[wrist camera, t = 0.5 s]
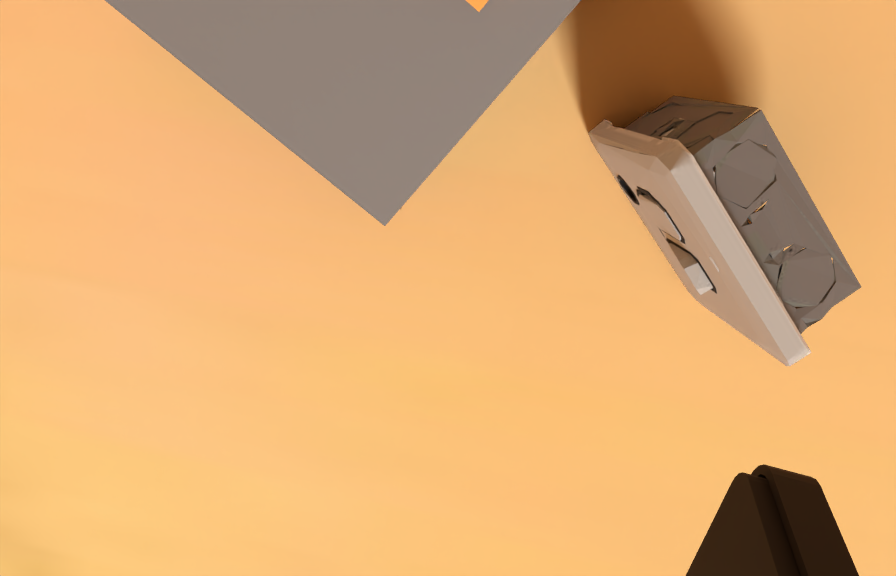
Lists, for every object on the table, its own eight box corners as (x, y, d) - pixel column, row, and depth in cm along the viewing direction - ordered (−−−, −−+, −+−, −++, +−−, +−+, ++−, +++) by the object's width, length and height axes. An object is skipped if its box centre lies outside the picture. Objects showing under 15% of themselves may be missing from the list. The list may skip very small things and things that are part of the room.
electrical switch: (582, 127, 35) (613, 187, 27) (690, 55, 34) (760, 94, 25) (690, 295, 38) (750, 398, 29) (794, 235, 37) (889, 324, 28)
